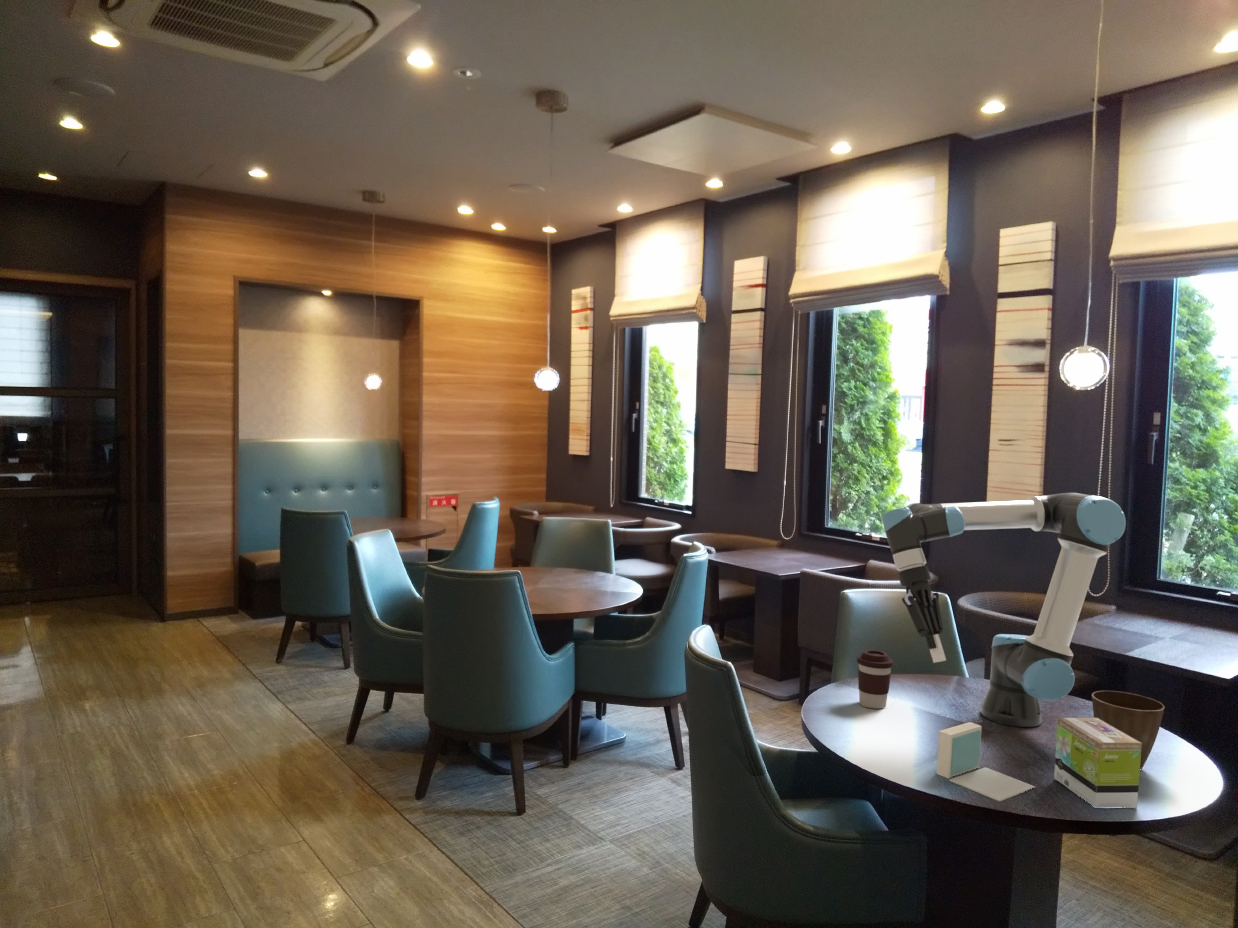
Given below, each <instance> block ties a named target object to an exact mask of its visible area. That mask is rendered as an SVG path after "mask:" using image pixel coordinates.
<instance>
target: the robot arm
mask: <svg viewBox="0 0 1238 928" xmlns="http://www.w3.org/2000/svg"><path fill="white" fill-rule="evenodd" d="M881 519H882V524H883V529H884V530H883V531H884V534H885V536H886V540H887V543H888V546H889V548H890V552H891V555H892V558H893V562H894V565H895V568H896V570H897V571H898V572H897V575H898V576H897V577H898V580H899V585H901V587H905V593H906V596H904V597H902V598H901V600H902V603H903V605H904V606H906V609H907V611H908V613H909V615H910V618H911V620H912V621H913V622H912V623H913V624H914V627H915V629H916V631H917V634H918V635H920V637H921V638H925V640H926V644H927V647H928V649H929V652H930V656H931V658H932V662H933V663H932V664H935V663H940V662H945V661H947V658H946V654H945V652H944V648H943V644H942V641H941V638H940V637H941V636H940V634H943V630H944V627H943V620H942V615H941V610H940V603H939V597H940V595H939V593H938V592H933V591H932V589H931V588H932V587H931V586H930V585H929V581H931V580H932V577H931V574H930V573H931V572H930V570H929V567H928V566H927V565H926V564H927V559H926V557H925V553H924V551H923V547H922V544H921V543H924V542H930V541H934V540H939V539H945V538H953V537H955V536H958V535H961V534H963V533H964V531H973V530H974V531H975V530H999V529H1002V530H1003V529H1004V530H1005V529H1008V530H1009V529H1031V530H1032V531H1034V532H1052V533H1056V534H1058V537H1057V541H1058V543H1059V544H1060V546H1061V549H1060V552H1059V555H1058V558H1057V561H1056V564H1055V568H1054V569H1053V573H1052V575H1051V579H1050V582H1049V586H1048V589H1047V590H1046V591H1047V592H1046V596H1045V597H1044V598H1045V599H1044V600H1043V605H1042V608H1041V611H1040V613H1039V616H1038V620H1037V623H1036V626H1035V628H1034V632H1033V634H1031V635H1026V634H1025V635H1024V634H1014V633H1013V634H1009V633H1007V634H1006V633H999V634H996V635H994V637H993V638H992V644H991V658H990V677H989V688H988V689H987V691H986V694H985V697H984V698H983V702H982V703H981V711H980V713H981V715H982V716H983V717H984V718H985V719H988V720H990V721H993V722H995V723H999V724H1001V725H1002V724H1003V725H1006V726H1012V727H1022V728H1032V727H1037V726H1040V725H1041V724H1042V719H1043V718H1042V710H1041V708H1040V705H1039V704H1040V703H1039V701H1043V702H1056V701H1058V700H1061V699H1062V698H1065V697H1066V696H1068V694H1069V693H1070V692H1071V691H1072V689H1073V687H1074V686H1075V680H1076V679H1075V673H1074V671H1073V668H1072V667H1071V664H1072V661H1073V657H1074V653H1073V651H1072V650H1071V648H1070V646H1071V641H1072V639H1073V637H1074V636H1073V635H1074V633H1075V630H1076V626H1077V624H1078V620H1079V618H1080V614H1081V611H1082V609H1083V606H1084V602H1085V599H1086V597H1087V593H1088V590H1089V587H1090V585H1091V581H1092V578H1093V575H1094V572H1095V569H1096V565H1097V562H1098V560H1099V559H1100V557H1102V556H1105V555H1107V554H1108V551H1109V547H1110V545H1111V544H1113V543H1116V541H1118V540H1119V539H1120V538H1121V537H1122V536H1123V534H1124V533H1125V531H1126V525H1127V522H1126V521H1127V520H1126V516H1125V513H1124V511H1123V509H1122V508H1121V506H1120V505H1119V504H1118V503H1117V502H1115V501H1114V500H1112V499H1110V498H1106V497H1103V496H1101V495H1096V494H1095V495H1094V494H1085V493H1079V492H1062V493H1054V494H1047V495H1032V496H1030V497H1029V498H1028V499H1025V500H1023V499H1022V500H1021V499H1020V500H998V501H994V500H993V501H976V502H975V501H973V502H970V501H969V502H968V501H967V502H950V503H949V502H947V503H943V502H942V503H925V504H923V503H921V502H913V503H910V504H908V505H906V506H904V507H897V508H893V509H890V510H888V511H886V512H884V513H883V514H882V516H881Z"/></svg>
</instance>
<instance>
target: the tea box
mask: <svg viewBox="0 0 1238 928" xmlns="http://www.w3.org/2000/svg"><path fill="white" fill-rule="evenodd" d="M1056 725H1057V727H1056V740H1055V741H1056V743H1055V757H1054V758H1055V761H1054V775H1053V777H1054V778H1053V779H1054V780H1055V781H1057V782H1059V783H1060V784H1062V785H1063V786H1065V787H1066V788H1067V789H1069V790H1070V791H1071V792H1072V793H1074V794H1075V795H1076V794H1077V795H1076V796H1078V798H1080V797H1081V798H1080V799H1082V798H1083V799H1084V800H1085V801H1084V800H1083V799H1082V800H1083V801H1084V802H1086V801H1087V802H1089V803H1090V804H1092V805H1093V806H1095V807H1122V808H1124V807H1125V808H1133V809H1137V808H1138V799H1139V791H1140V789H1139V787H1140V784H1139V783H1140V776H1141V775H1140V772H1141V771H1140V761H1141V746H1142V743H1141V742H1139V741H1137V740H1135V739H1134V738H1132V737H1130V736H1128V735H1127V734H1125V733H1123V732H1121V731H1120V730H1118V729H1116V728H1114V727H1113V726H1111V725H1109V724H1107V723H1106V722H1104V721H1102V720H1100V719H1099V718H1094V717H1057V724H1056ZM1087 802H1086V803H1087ZM1134 807H1135V808H1134Z"/></svg>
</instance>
